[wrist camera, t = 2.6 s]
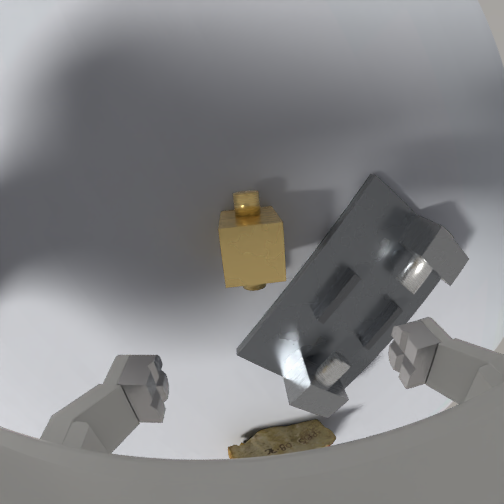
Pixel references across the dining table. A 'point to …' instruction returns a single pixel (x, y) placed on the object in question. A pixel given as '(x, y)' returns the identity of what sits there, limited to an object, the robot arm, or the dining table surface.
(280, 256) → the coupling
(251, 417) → the dining table surface
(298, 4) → the dining table surface
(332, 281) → the dark grey baseplate
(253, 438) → the rock
